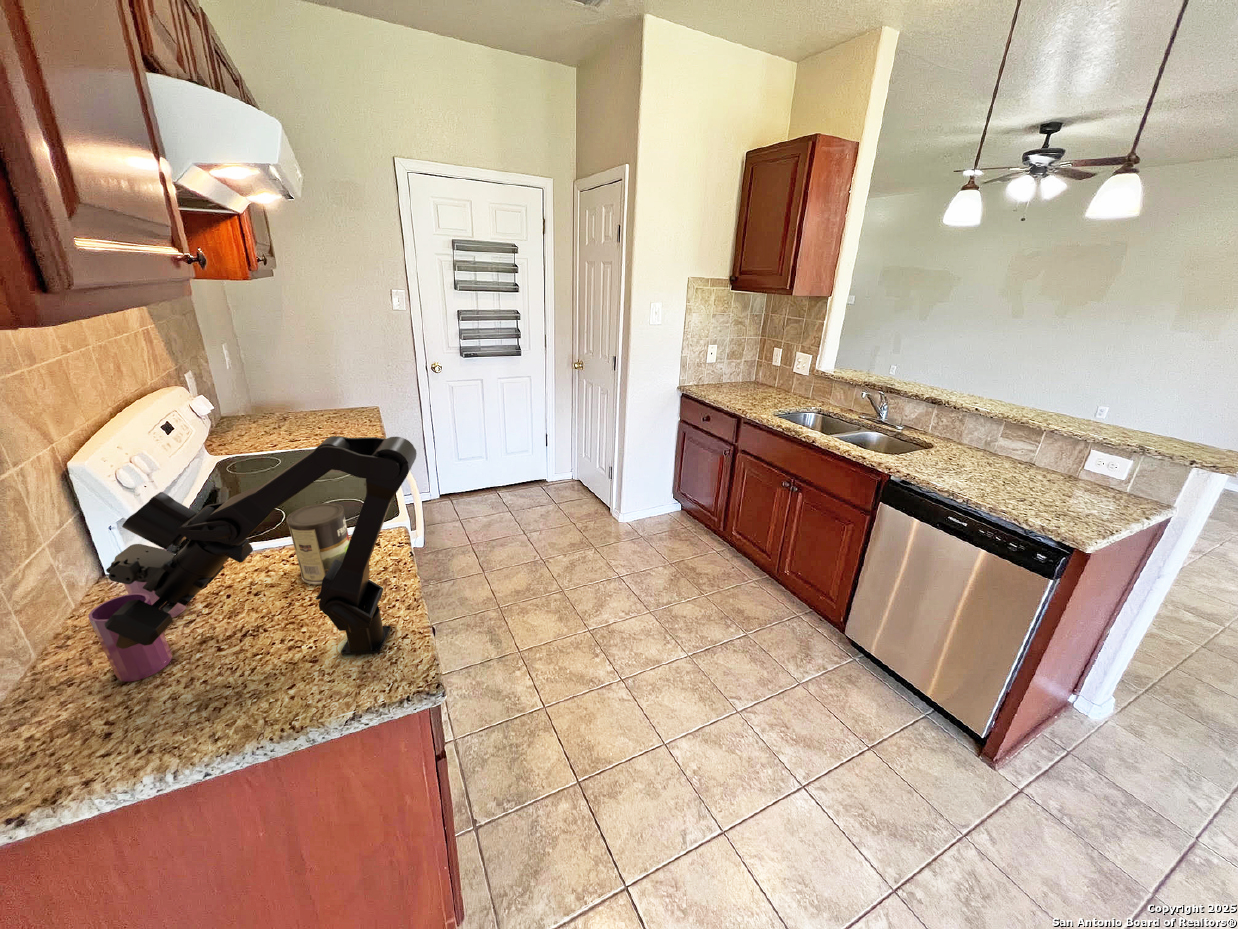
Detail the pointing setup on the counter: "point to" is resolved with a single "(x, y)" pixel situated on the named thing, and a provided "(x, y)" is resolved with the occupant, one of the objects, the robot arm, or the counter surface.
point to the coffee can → (318, 539)
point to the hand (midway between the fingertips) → (141, 626)
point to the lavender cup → (152, 596)
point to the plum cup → (132, 659)
